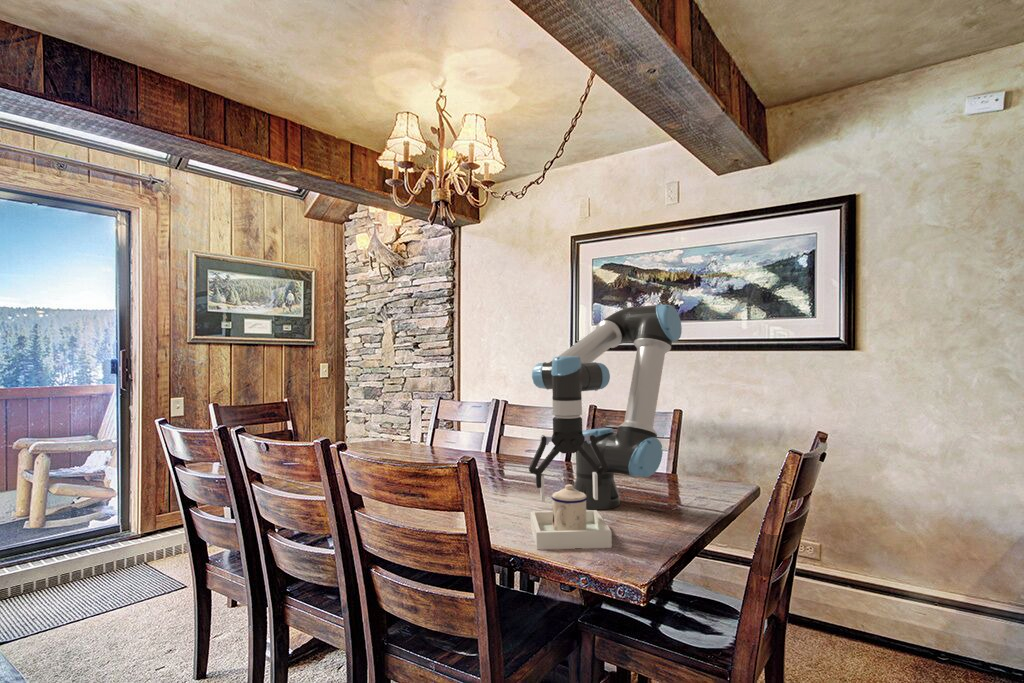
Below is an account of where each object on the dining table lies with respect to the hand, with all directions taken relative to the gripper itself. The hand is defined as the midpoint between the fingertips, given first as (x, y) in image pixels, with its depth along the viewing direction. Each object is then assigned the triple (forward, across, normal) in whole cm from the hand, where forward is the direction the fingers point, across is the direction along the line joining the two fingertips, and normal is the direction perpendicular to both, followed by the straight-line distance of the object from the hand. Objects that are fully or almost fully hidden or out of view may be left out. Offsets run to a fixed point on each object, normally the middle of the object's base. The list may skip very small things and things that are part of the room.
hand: (569, 499), depth 140 cm
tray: (+9, 0, 0) cm, 9 cm away
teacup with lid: (+8, +1, 0) cm, 8 cm away
